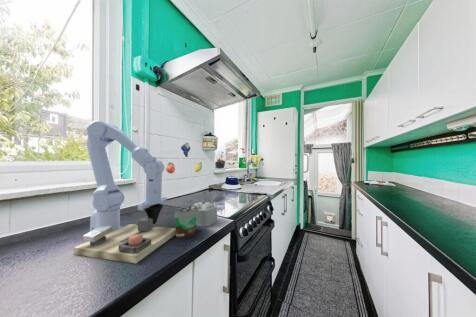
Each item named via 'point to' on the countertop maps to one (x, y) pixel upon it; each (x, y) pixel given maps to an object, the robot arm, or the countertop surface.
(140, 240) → the push button
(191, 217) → the food container
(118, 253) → the control board
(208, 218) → the lumpy-topped squat cylinder
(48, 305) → the countertop surface
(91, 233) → the rocker switch
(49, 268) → the countertop surface
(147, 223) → the slider knob
